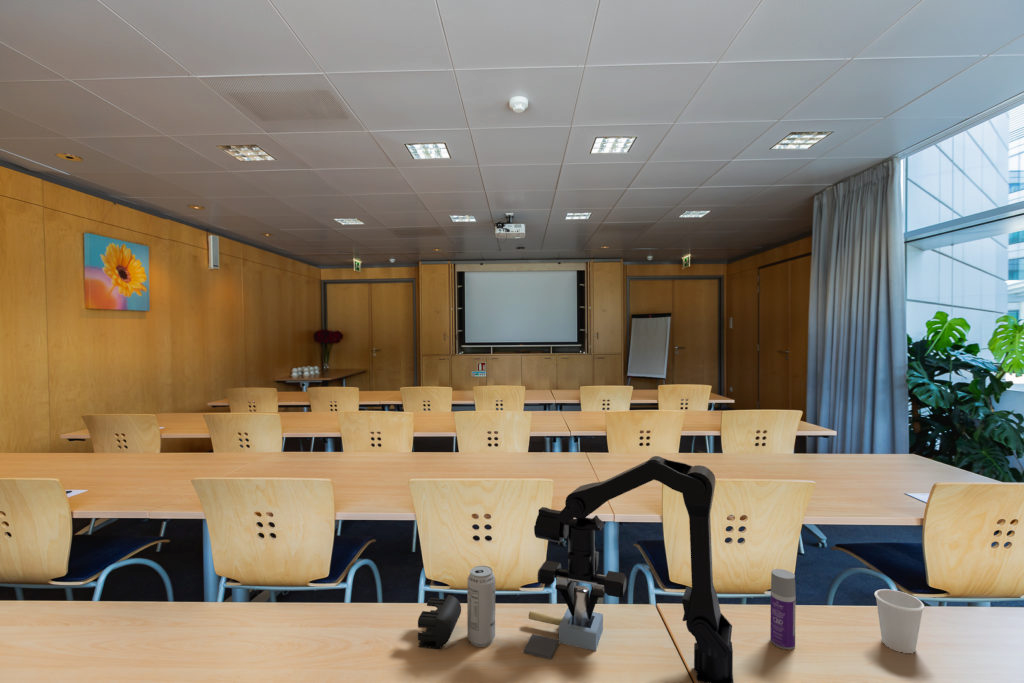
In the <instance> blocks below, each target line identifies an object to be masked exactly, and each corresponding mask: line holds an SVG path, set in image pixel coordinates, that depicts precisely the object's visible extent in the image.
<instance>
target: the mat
mask: <svg viewBox="0 0 1024 683" xmlns="http://www.w3.org/2000/svg"><path fill="white" fill-rule="evenodd" d="M558 643H559V639H556V638H553V637H547V636H544V635H538V634H536V633H535V634H534V633H532V634H531V636H530V637H529V639H528V641H527V643H526V645H525V647H524V648H523V652H522V653H523V654H526V655H531V656H534V657H538V658H542V659H547V660H552V659H553V656H554V654H555V652H556V650H557V647H558V645H559V644H560V643H559V644H558Z"/></svg>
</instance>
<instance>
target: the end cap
mask: <svg viewBox="0 0 1024 683" xmlns="http://www.w3.org/2000/svg"><path fill="white" fill-rule="evenodd" d="M426 607H435V608H436V610H434V609H433V610H432V609H431V610H430V611H426V610H423V611H422V612H421V613H420V614H419V616H418V620H417V628H421V629H425V630H424V631H423V630H422V631H421V632H417V641H418V647H419V648H421V649H429V650H430V649H433V650H440V649H441V648H442V647H444V646H445V645H446V644H448V643H449V640H450V639H451V636H452V634H453V631H454V630H455V627H456V625H457V623H458V621H459V619H460V616H461V613H462V605H461V603H460V601H459V600H458V599H457V597H455V596H454V595H451V594H448V595H447V597H446V598H436V597H435V598H433V597H430V598H429V599H428V601H427V603H426Z"/></svg>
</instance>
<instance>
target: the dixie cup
mask: <svg viewBox="0 0 1024 683" xmlns="http://www.w3.org/2000/svg"><path fill="white" fill-rule="evenodd" d="M874 597H875V598H876V600H875V601H876V606H877V614H878V616H877V617H878V622H879V628H880V636H881V642H882V644H883V643H884V644H885V645H884V644H883V645H884V646H885V647H886V648H888V647H889V648H888V649H890V650H892V649H893V650H892V651H894V650H895V652H897V651H898V653H900V652H903V653H902V654H905V653H912V654H914V653H913V652H915V653H916V651H917V644H918V638H919V632H920V628H921V620H922V615H923V614H922V613H923V610H924V609H925V603H923V602H922V601H921V600H920V599H918V598H917V597H915V596H914V595H912V594H911V595H910V594H909V593H906V592H903V591H899V590H895V589H888V588H883V589H882V588H881V589H878V590H875V592H874Z"/></svg>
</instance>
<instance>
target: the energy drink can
mask: <svg viewBox="0 0 1024 683" xmlns="http://www.w3.org/2000/svg"><path fill="white" fill-rule="evenodd" d="M493 571H494V570H493V568H491V567H490V566H487V565H476V566H474V567H472V568H471V569H470V570H469V575H468V577H467V587H466V588H467V593H466V594H467V600H466V601H467V602H466V604H467V609H466V610H467V622H466V623H467V625H466V626H467V631H466V632H467V636H466V637H467V639H468V640H469V642H470V643H471V645H473V646H475V647H480V648H484V647H487V646H489V645H491V644H492V643H493V641H494V639H495V638H496V576H495V574H494V572H493Z"/></svg>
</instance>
